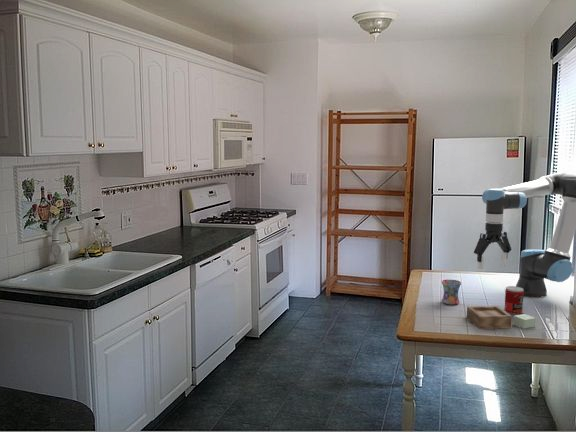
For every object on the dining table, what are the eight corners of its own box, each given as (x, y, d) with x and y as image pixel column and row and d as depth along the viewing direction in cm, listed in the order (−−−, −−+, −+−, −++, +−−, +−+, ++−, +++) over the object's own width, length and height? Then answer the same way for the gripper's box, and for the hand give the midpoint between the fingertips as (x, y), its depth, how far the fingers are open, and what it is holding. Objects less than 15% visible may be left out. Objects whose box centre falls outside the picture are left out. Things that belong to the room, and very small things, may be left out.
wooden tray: (497, 317, 246) (497, 306, 245) (511, 327, 232) (511, 316, 231) (466, 317, 245) (467, 306, 245) (478, 328, 232) (479, 316, 231)
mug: (456, 307, 261) (457, 285, 259) (437, 303, 266) (438, 282, 264) (464, 301, 270) (465, 280, 269) (446, 297, 276) (447, 277, 274)
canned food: (514, 315, 249) (516, 291, 248) (500, 310, 256) (501, 287, 255) (526, 312, 253) (527, 289, 251) (511, 307, 260) (513, 285, 258)
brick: (523, 322, 239) (524, 313, 239) (534, 327, 234) (535, 318, 233) (513, 324, 237) (513, 315, 236) (524, 329, 232) (524, 319, 231)
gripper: (508, 219, 261) (506, 263, 264) (467, 223, 252) (465, 268, 255) (521, 221, 254) (518, 266, 257) (478, 225, 245) (476, 271, 248)
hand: (492, 267), depth 256 cm, fingers open, 13 cm apart
